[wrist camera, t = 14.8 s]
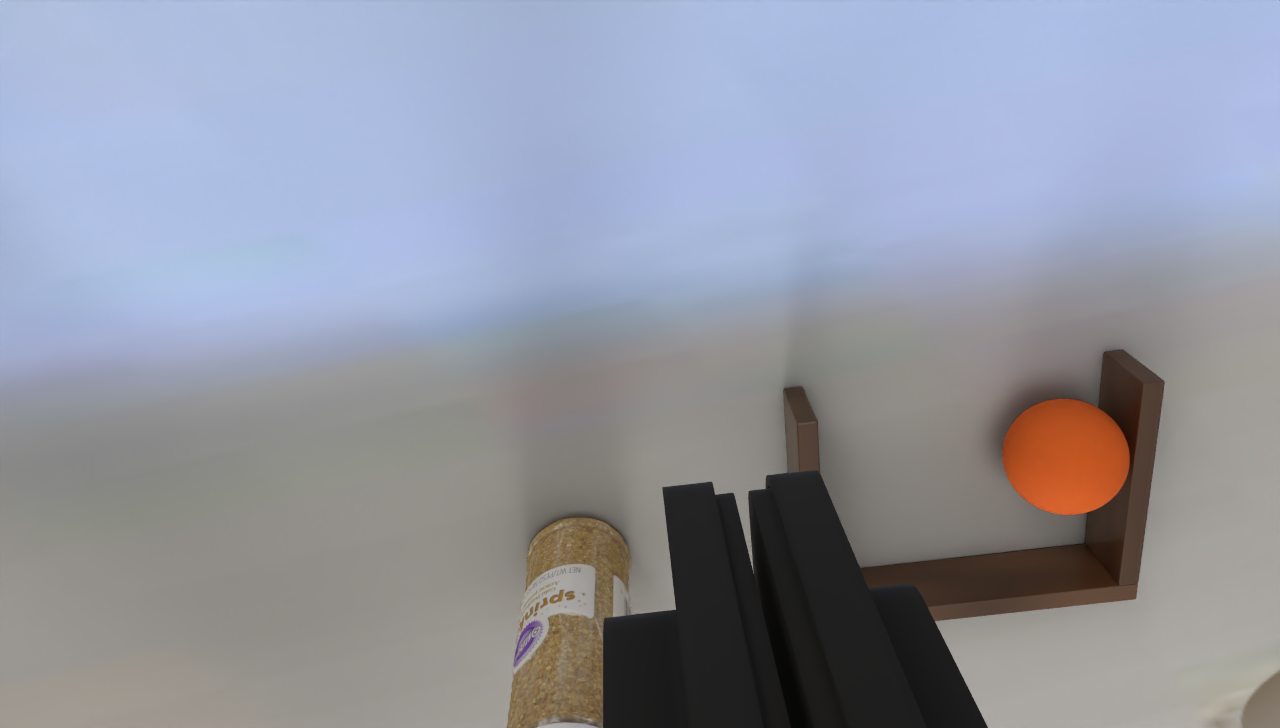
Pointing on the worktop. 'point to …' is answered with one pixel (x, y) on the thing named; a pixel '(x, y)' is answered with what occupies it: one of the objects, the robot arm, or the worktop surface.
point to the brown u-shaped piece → (1040, 573)
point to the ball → (1066, 456)
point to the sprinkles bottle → (567, 624)
